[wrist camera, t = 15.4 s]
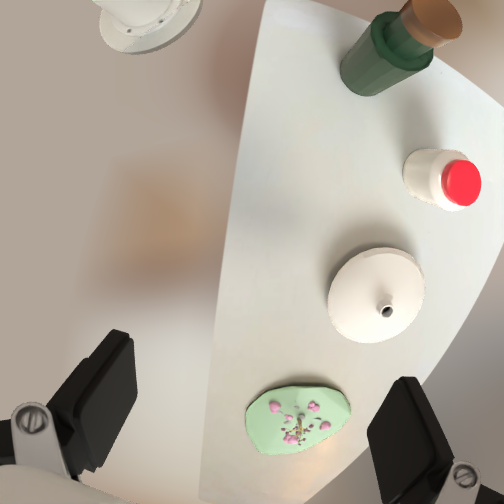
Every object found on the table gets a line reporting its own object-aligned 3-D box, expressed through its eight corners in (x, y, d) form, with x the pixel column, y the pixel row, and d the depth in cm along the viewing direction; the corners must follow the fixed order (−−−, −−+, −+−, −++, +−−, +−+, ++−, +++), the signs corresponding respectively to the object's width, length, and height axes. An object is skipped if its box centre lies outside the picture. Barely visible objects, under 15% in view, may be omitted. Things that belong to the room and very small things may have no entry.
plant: (322, 457, 59) (325, 487, 50) (236, 448, 59) (231, 478, 50) (364, 386, 51) (375, 420, 42) (257, 372, 51) (253, 408, 42)
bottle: (330, 65, 35) (370, 3, 16) (366, 45, 33) (423, -16, 15) (359, 104, 37) (423, 70, 18) (394, 83, 35) (470, 45, 16)
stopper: (374, 28, 20) (400, -3, 14) (406, 13, 19) (436, -15, 13) (403, 67, 21) (438, 46, 15) (434, 51, 20) (472, 31, 14)
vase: (348, 226, 42) (361, 240, 35) (432, 259, 42) (453, 276, 36) (308, 319, 47) (313, 345, 40) (390, 341, 47) (403, 366, 41)
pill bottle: (415, 138, 37) (454, 137, 27) (452, 166, 38) (495, 173, 27) (394, 184, 40) (429, 195, 29) (432, 209, 40) (471, 227, 30)
